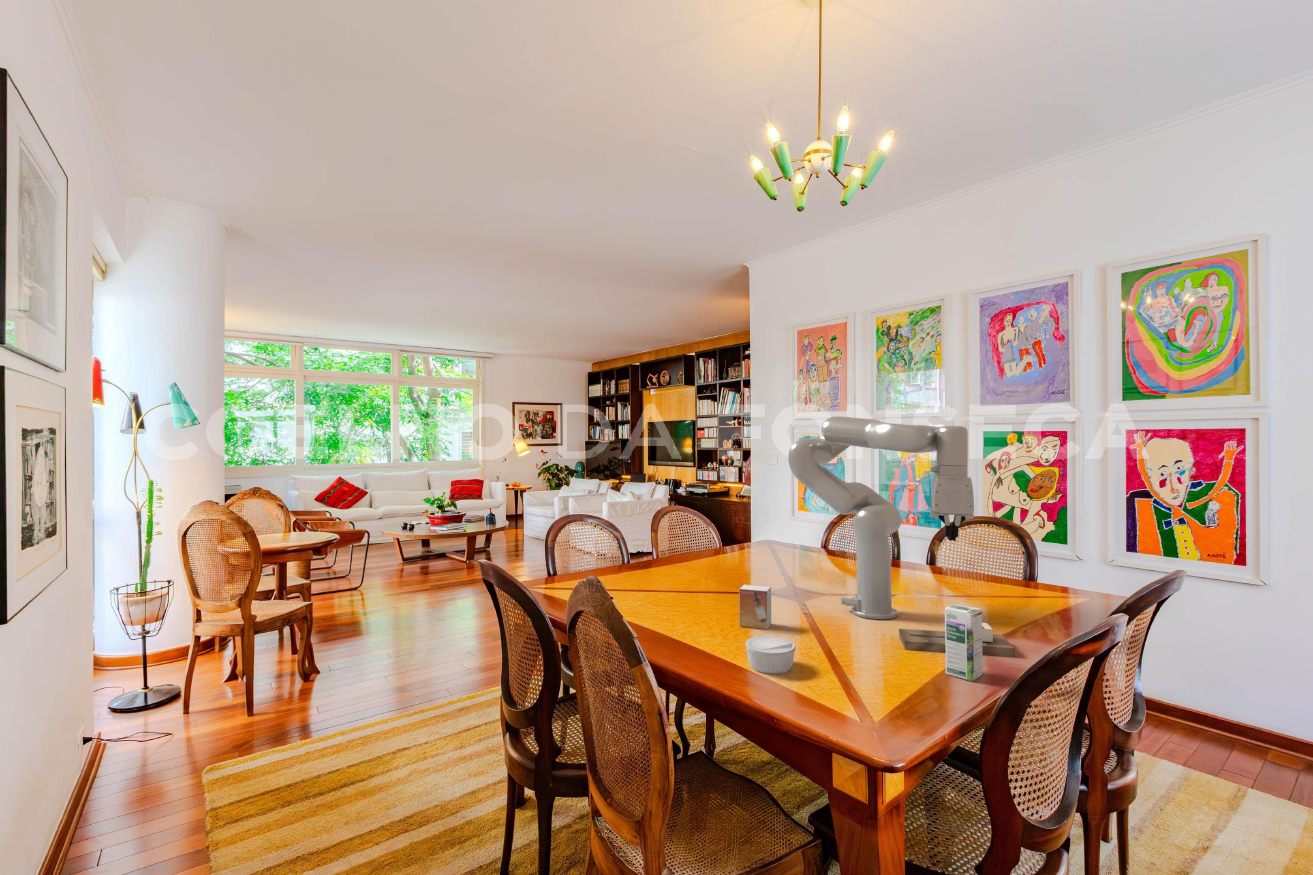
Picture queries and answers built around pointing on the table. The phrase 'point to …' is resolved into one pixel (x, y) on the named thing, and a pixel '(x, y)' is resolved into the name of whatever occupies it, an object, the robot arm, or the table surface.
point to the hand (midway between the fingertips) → (951, 539)
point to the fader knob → (987, 633)
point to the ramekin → (770, 654)
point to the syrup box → (963, 641)
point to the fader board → (936, 642)
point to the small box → (755, 606)
